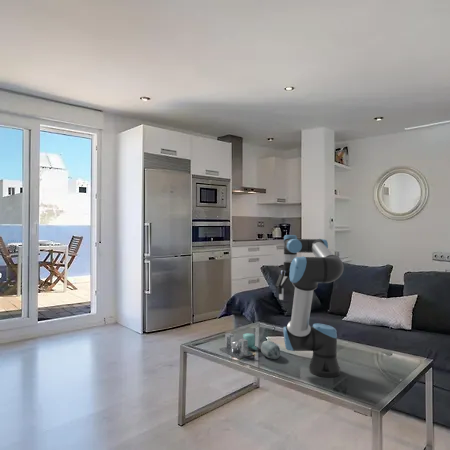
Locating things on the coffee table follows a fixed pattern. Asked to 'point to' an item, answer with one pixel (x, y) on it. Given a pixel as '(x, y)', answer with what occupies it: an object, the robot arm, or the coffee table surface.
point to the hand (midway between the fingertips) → (289, 298)
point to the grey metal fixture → (236, 347)
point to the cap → (250, 340)
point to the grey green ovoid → (270, 349)
